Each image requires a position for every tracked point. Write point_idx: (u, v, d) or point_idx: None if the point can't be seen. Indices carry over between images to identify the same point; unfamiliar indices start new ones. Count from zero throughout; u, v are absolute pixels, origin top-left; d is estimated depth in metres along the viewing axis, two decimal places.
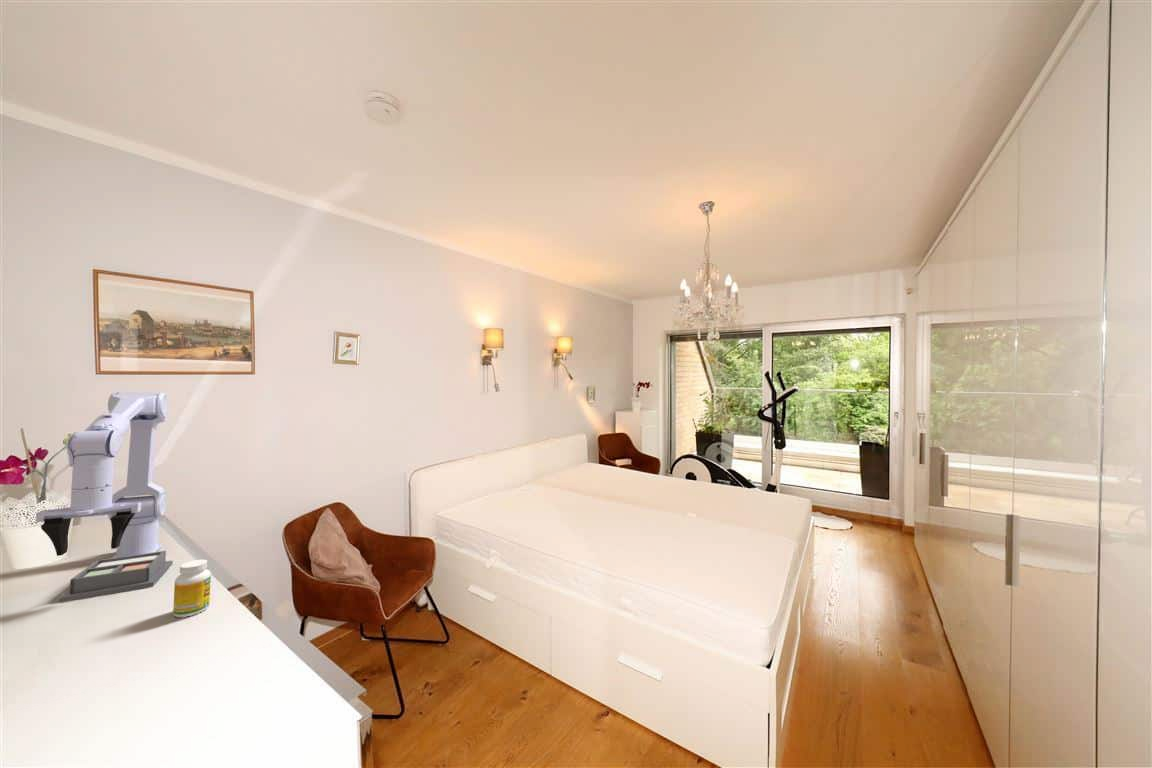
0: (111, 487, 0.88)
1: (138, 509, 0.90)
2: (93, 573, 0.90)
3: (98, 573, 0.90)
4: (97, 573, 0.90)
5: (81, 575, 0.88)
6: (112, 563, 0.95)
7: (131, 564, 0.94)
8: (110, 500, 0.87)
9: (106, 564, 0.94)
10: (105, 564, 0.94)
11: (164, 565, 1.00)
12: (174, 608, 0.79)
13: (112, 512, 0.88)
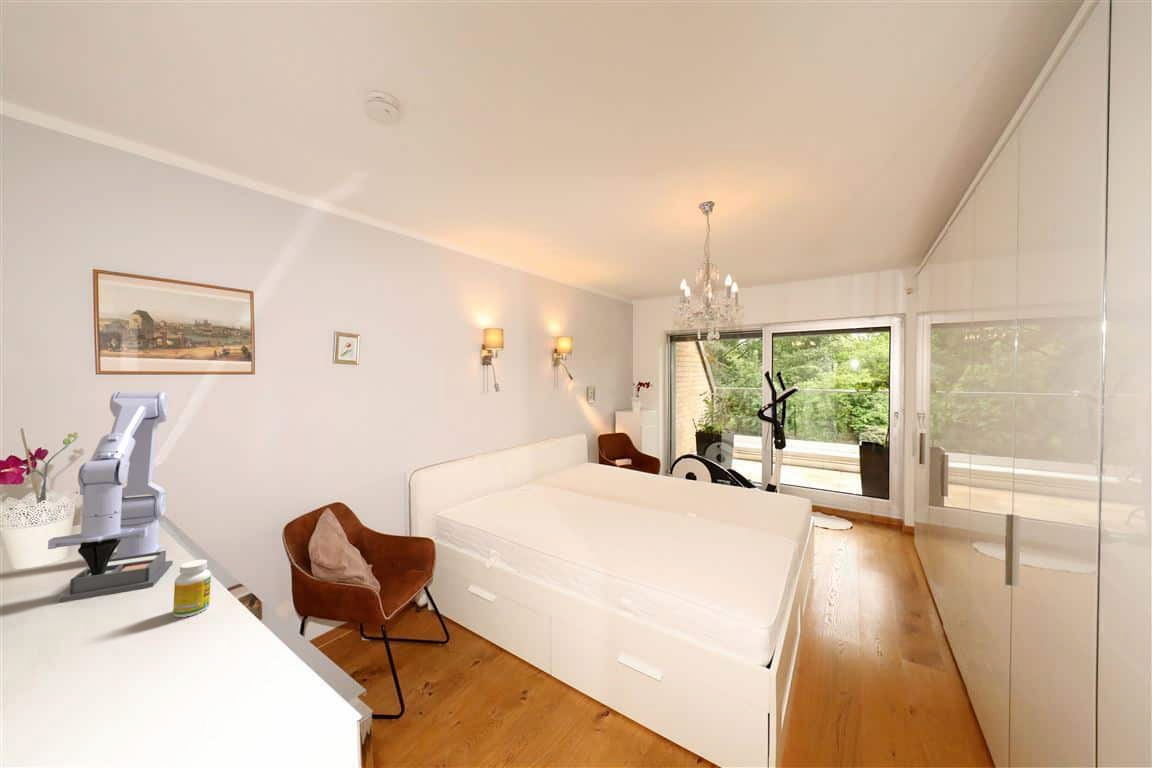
0: (119, 514, 0.91)
1: (145, 534, 0.93)
2: None
3: None
4: None
5: (81, 575, 0.88)
6: (112, 563, 0.95)
7: (131, 564, 0.94)
8: (118, 526, 0.91)
9: None
10: None
11: (164, 565, 1.00)
12: (174, 608, 0.79)
13: (120, 538, 0.91)
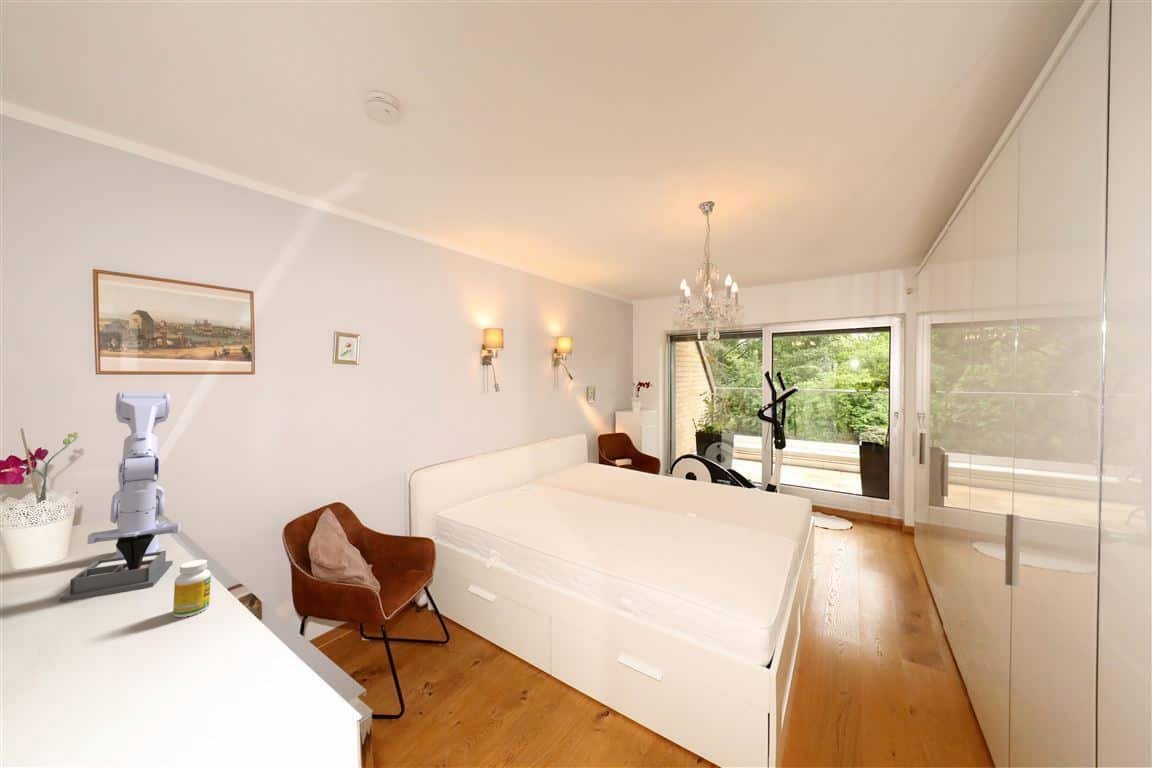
0: (154, 510, 0.94)
1: (178, 530, 0.96)
2: None
3: None
4: None
5: (81, 575, 0.88)
6: (112, 563, 0.95)
7: None
8: (153, 522, 0.94)
9: (106, 564, 0.94)
10: (105, 564, 0.94)
11: (164, 565, 1.00)
12: (174, 608, 0.79)
13: (155, 533, 0.94)
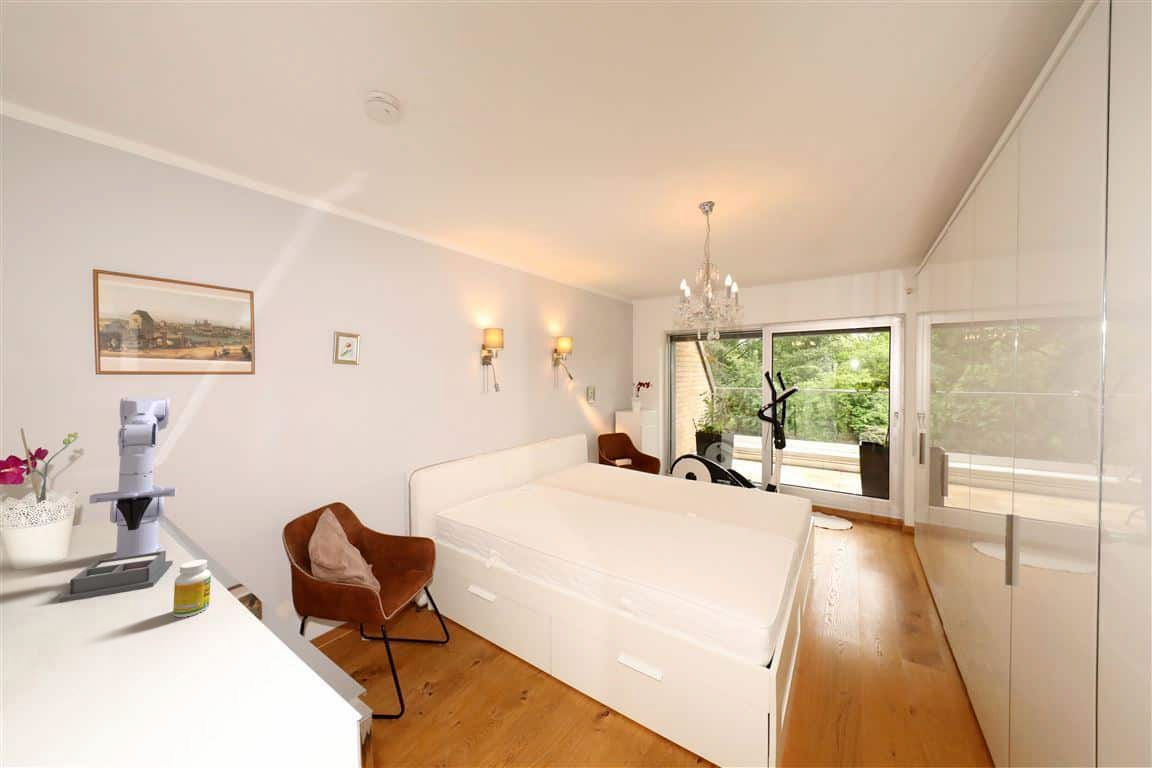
0: (152, 474, 1.00)
1: (175, 493, 1.02)
2: None
3: None
4: None
5: (81, 575, 0.88)
6: (112, 563, 0.95)
7: (131, 564, 0.94)
8: (151, 485, 1.00)
9: (106, 564, 0.94)
10: (105, 564, 0.94)
11: (164, 565, 1.00)
12: (174, 608, 0.79)
13: (153, 496, 1.00)
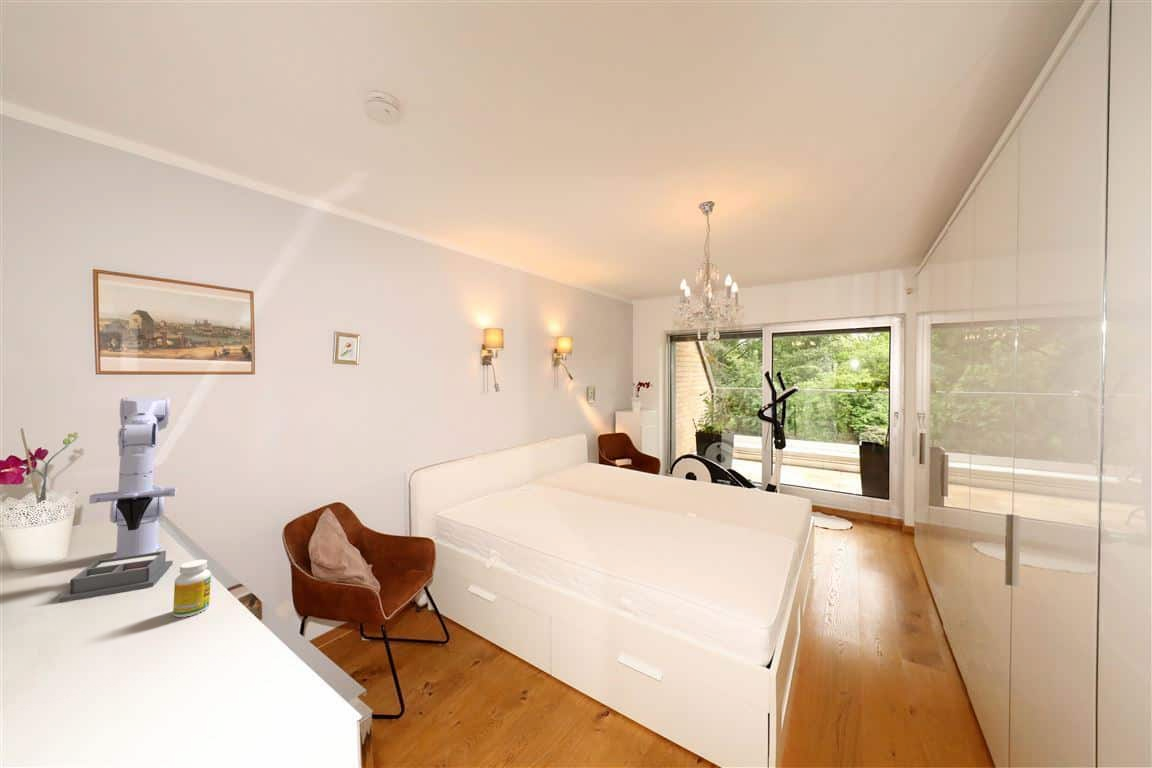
0: (152, 474, 1.00)
1: (175, 493, 1.02)
2: None
3: None
4: None
5: (81, 575, 0.88)
6: (112, 563, 0.95)
7: (131, 564, 0.94)
8: (151, 485, 1.00)
9: (106, 564, 0.94)
10: (105, 564, 0.94)
11: (164, 565, 1.00)
12: (174, 608, 0.79)
13: (153, 496, 1.00)
